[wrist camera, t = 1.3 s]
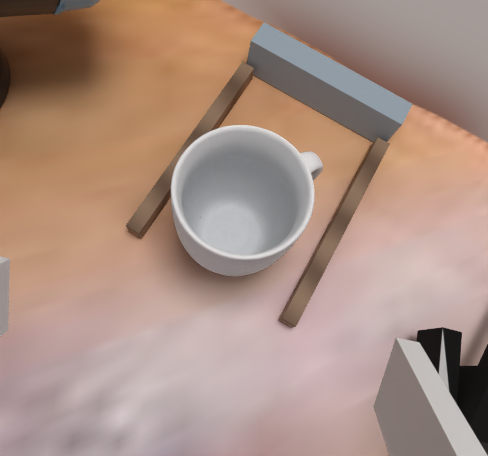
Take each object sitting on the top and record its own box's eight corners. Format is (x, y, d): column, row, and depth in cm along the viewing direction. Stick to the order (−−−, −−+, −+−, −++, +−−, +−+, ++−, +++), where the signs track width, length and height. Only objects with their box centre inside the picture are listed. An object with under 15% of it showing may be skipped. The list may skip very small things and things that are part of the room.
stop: (381, 147, 49) (401, 124, 44) (245, 70, 50) (250, 40, 45) (391, 128, 50) (412, 103, 45) (257, 53, 51) (264, 22, 46)
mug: (270, 152, 47) (297, 79, 35) (330, 230, 45) (382, 182, 33) (155, 221, 43) (140, 167, 31) (216, 310, 41) (225, 291, 29)
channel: (291, 327, 42) (296, 326, 40) (128, 231, 43) (125, 225, 41) (382, 152, 49) (389, 143, 47) (240, 72, 50) (242, 61, 48)
